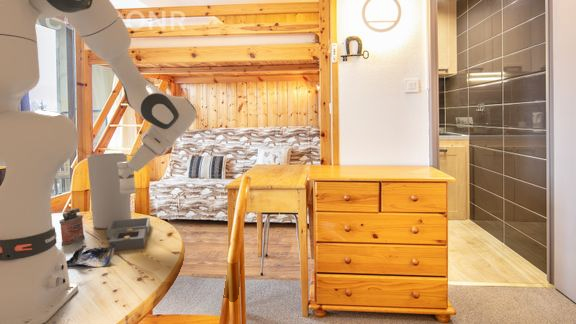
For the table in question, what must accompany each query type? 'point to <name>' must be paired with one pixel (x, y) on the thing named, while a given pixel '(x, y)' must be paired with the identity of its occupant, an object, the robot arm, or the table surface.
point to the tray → (128, 225)
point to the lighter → (71, 227)
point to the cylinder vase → (107, 190)
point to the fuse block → (128, 239)
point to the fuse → (126, 180)
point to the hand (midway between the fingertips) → (124, 175)
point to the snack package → (92, 256)
